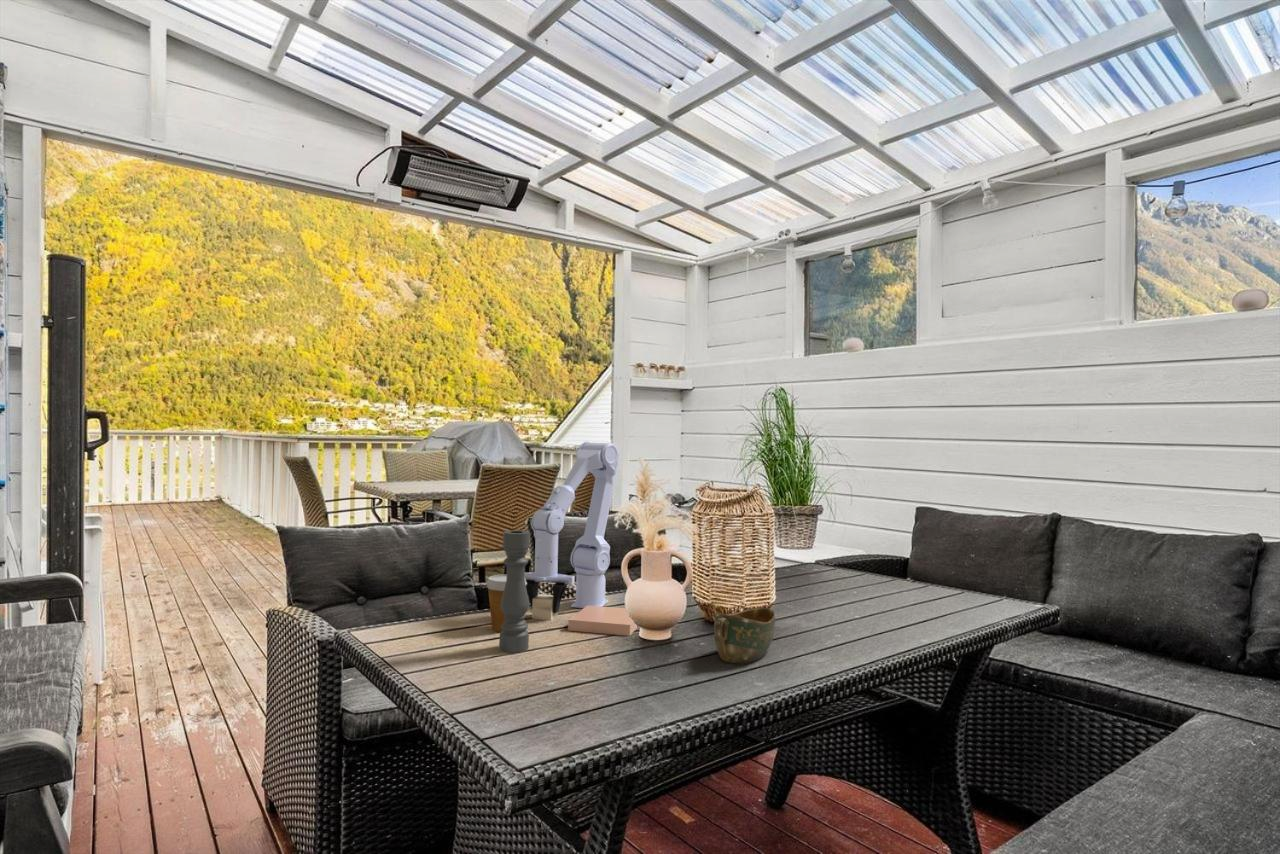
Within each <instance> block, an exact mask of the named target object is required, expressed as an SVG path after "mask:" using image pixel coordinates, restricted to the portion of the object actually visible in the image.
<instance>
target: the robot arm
mask: <svg viewBox="0 0 1280 854" xmlns="http://www.w3.org/2000/svg"><path fill="white" fill-rule="evenodd" d="M575 455H576V456H575V459H576V460H575V461H574V463H573V465H572V467H571V469H570V471H569V473H568V475H566V476H567V477H566V479H565V480H564V482H563V484H561V485H557V486H556V487H554V488H553V490H552V493H551V494H550V496H549V497H548V499H547V500H546V502H545V503H544V504H543V506H542V507H541V508H540V509H539V510H537V511H535V513H533V516H532V517H531V520H530V526H531V529H532V530H533V537H534V541H535V543H534V544H535V549H534V572H532V571H531V572H530V571H529V572H526V571H525V580H526V582H527V585H526V589H527V594H528V599H529V604H530V607H531V609H532V601H533V598H535V597H536V596H538V595H539V589H540V583H544V584H545V583H547V584H549V583H550V584H553V585H552V586H551V590H552V595H553V613H557V612H558V613H559V610H560V605H561V601H562V598H563V596H564V593H565V591H566V590H567V587H568V585H569V586H572V585H574V584H575V583H576V584H575V585H576V586H575V588H576V589H575V602H573V603H572V604H571V605H570V607H571V608H578V609H583V608H584V607H586V606H587V605H589V606H602V607H605V605H607V604H608V602H609V600H608V599H606V576H605V573H606V571H607V570H608V569H609V566H610V564H611V555H610V552H611V546H610V544H609V543H608V542H607V541H606V540H605V533H606V528H607V523H608V520H609V519H608V518H609V512H610V507H611V503H612V498H613V492H614V488H615V484H616V483H615V481H616V477H617V471H618V470H617V469H618V465H619V460H620V455H621V454H620V452H619V450H618V448H617V446H616V445H615V444H614V443H613V442H589V441H584V442H582V443H581V444H580V446H579V448H578V450H577V451H576V452H575ZM589 473H591V474H592V475H593V477H594V483H593V489H592V494H591V499H590V504H589V509H588V513H587V519H586V524H585V529H584V534H583V535H582V536H580V537H579V538H578V539H577V540H576V541H575V545H574V547H573V549H572V550H571V553H570V557H569V558H570V560H569V561H570V564H571V566H572V568H574V572H576V576H575V575H568V574H561V573H558V566H559V565H558V564H559V563H558V562H559V561H558V559H559V533H560V531H562V529H563V528H564V526H565V518H566V513H567V512H568V511H569V509H570V507H571V505H572V504H573V502H574V501H575V499H576V496H575V495H576V494H575V492H576V490H577V488H579V486H580V485H581V483H582V482H583V480H584V479H585V478H586V477H587V475H588V474H589ZM593 547H594V548H593ZM575 577H576V581H575Z"/></svg>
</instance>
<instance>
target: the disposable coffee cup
mask: <svg viewBox="0 0 1280 854" xmlns="http://www.w3.org/2000/svg"><path fill="white" fill-rule="evenodd" d="M506 578H507V573H506V574H502V573H501V574H495V575H491V576H489V577H488V578H487V581H486V582H485V585H486V588H487V589H488V599H489V609H490V619H491V621H490V622H491V630H492V631H494V632H499V633H500V632H501V631H503V630H502V629H501V625H502V624H503V622H504V621H505V620H506V619H505V618H504V616H505V615H504V613H503V612H502V610H501V607H500V604H501V600H502V596H503V592H504V588H505V584H506ZM525 584H526V585H527V582H526V580H525Z"/></svg>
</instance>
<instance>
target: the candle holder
mask: <svg viewBox="0 0 1280 854" xmlns="http://www.w3.org/2000/svg"><path fill="white" fill-rule="evenodd" d="M530 542H531V531H528V530H522V529H521V530H517V529H515V530H505V531H503V533H502V547H503V548H504V550H503V551H504V553H505V555H506V558H505V559H504V560H503V564H504V565H505V567H506V574H507V578H506V584H505V588H504V592H503V596H502V600H501V604H500V607H501V610H502V612H503V613H504V615H505V616H504V618H505V619H506V620H505V621H504V622H503V624H502V625H501V629H502V630H503V631H501V632H499V641H498V643H499V645H498V646H499V648H498V649H499V650H500V651H501V652H503V653H509V654H510V653H512V654H513V653H514V654H515V653H516V654H517V653H522V652H525V651H528V649H529V643H530V642H529V639H530V638H529V637H530V633H529V631H528V627H529V626H528V624H527V622H526V620H525V618H526V613H527V612H528V611H529V608H530V600H529V597H528V594H527V589H526V584H525V572H526V566H527V565H528V563H529V559H528V558H526V556H527V553H528V552H529V548H530V545H531V543H530Z"/></svg>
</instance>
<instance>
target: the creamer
mask: <svg viewBox="0 0 1280 854" xmlns="http://www.w3.org/2000/svg"><path fill="white" fill-rule="evenodd" d="M713 623H714V624H713V637H714V643H715V647H716V650H717V653H718V655H719V657H720V659H721V660H722V661H723V662H727V663H731V664H738V665H739V664H741V665H742V664H750V663H753V662H756V661H758V660H759V661H760V660H761V659H763V658H765V656H766V655H767V653H768V650H769V648H770V646H772V645H771V644H772V642H773V639H774V638H773V637H774V634H775V627H776V626H775V625H776V613H775V611H774V610H773V609H770V608H768V607H755V608H749V609H745V610H741V611H738V612H735V613H729V614H728V613H727V614H725V613H721V612H715V615H714V622H713Z"/></svg>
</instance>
